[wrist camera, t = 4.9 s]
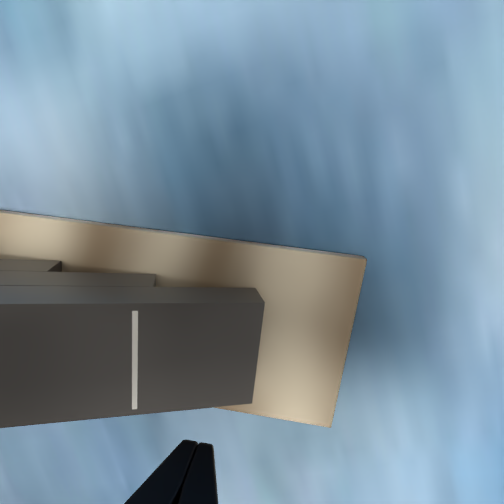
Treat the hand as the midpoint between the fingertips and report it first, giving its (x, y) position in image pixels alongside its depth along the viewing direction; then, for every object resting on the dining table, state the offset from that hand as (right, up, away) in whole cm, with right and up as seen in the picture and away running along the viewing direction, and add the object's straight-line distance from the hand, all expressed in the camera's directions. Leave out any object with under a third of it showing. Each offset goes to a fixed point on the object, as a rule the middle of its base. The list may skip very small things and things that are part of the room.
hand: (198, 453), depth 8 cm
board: (-7, +3, +7) cm, 10 cm away
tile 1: (+2, +1, +5) cm, 6 cm away
